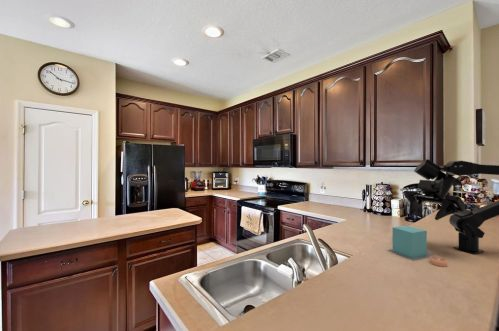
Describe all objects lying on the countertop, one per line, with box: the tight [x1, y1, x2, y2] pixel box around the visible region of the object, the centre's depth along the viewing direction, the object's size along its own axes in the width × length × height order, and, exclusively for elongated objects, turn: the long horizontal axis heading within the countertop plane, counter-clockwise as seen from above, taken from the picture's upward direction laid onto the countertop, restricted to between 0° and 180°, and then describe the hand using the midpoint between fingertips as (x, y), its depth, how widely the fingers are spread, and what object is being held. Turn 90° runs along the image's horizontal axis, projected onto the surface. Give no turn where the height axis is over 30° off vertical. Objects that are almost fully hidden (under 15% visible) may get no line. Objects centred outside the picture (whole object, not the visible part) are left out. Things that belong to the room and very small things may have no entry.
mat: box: [387, 248, 437, 262], centre depth 84 cm, size 12×10×1 cm
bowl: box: [429, 255, 448, 268], centre depth 74 cm, size 4×4×2 cm
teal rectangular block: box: [392, 225, 428, 259], centre depth 83 cm, size 7×7×9 cm
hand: (422, 216), depth 86 cm, fingers open, 9 cm apart
